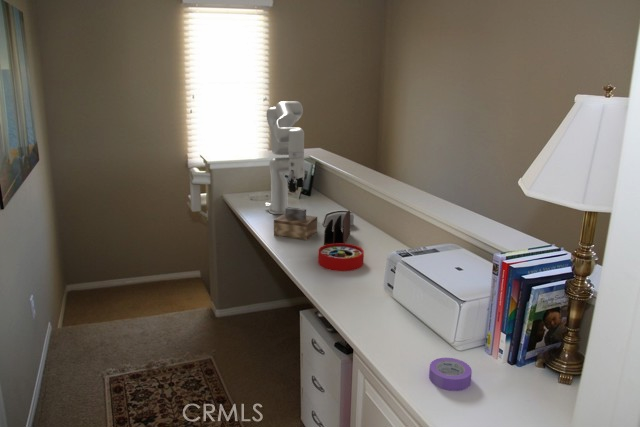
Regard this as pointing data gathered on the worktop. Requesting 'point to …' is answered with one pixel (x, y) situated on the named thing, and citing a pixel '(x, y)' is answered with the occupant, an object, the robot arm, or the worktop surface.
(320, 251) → the toy clock
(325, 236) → the letter holder
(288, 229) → the wooden box
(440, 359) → the masking tape
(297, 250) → the worktop surface
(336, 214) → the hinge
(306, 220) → the lid
